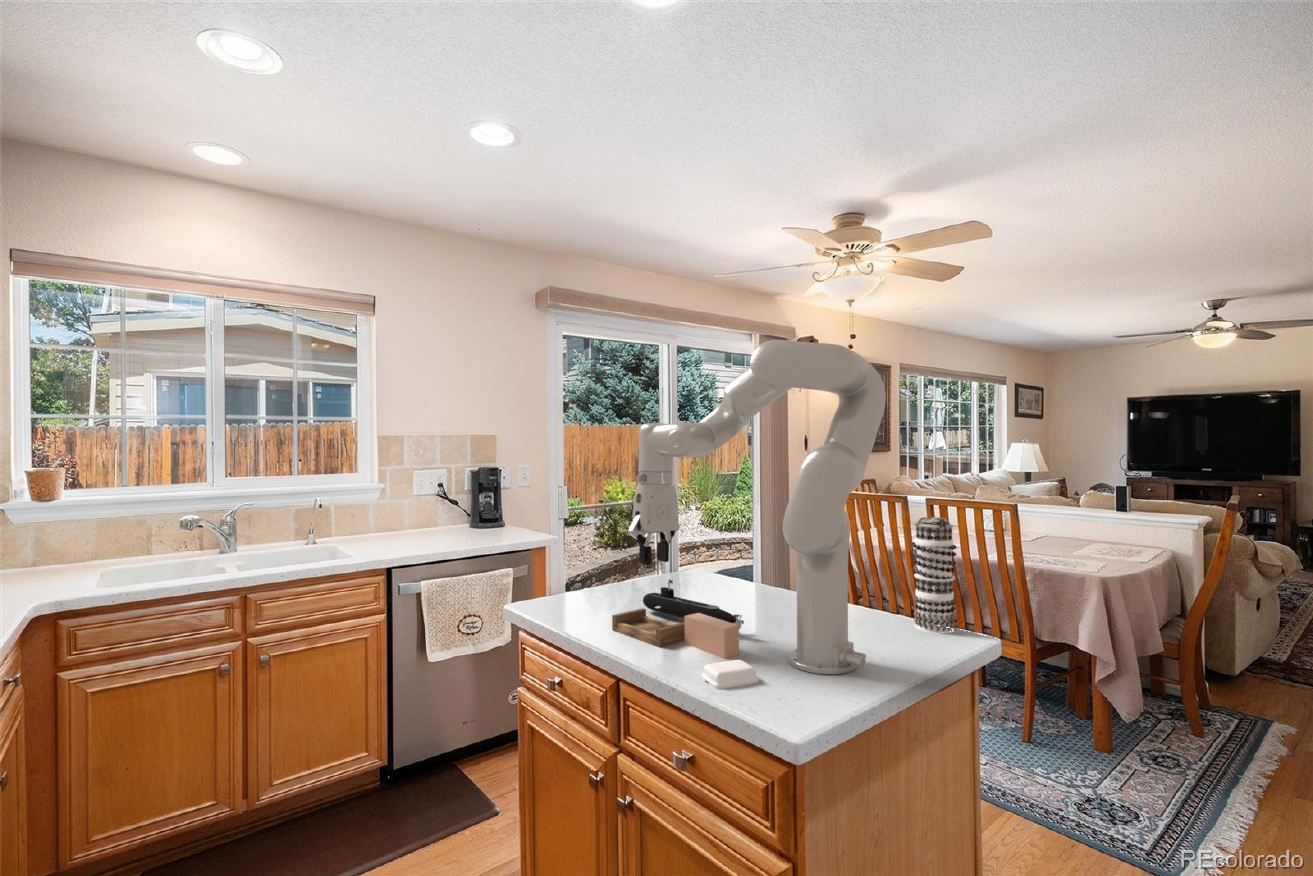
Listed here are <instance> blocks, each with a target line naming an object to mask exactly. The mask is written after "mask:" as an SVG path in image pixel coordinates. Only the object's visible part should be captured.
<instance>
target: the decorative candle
mask: <svg viewBox="0 0 1313 876" xmlns="http://www.w3.org/2000/svg"><path fill="white" fill-rule="evenodd" d="M913 525H914V526H915V537H914V541H913V542H911V545H912V547H913V548H914V549H913V551H912V552H911V554H912V555H913V556H914V557H913V558H912V561H913V563H914V567H912V569H913V570H914V573H913V577H914V578H915V579H916V582H915V583H916V588H915V596H914V597H913V599H914V601H915V602H916V603H914V604H913V606H914V608H915V610H914V612H913V615H914V616H915V618H914V620H913V621H914V623H915V625H914V628H917V629H916V630H919V631H921V632H924V633H929V632H935V633H934V634H936V633H943V632H944V633H948V634H952V629H951V628H954V629H955V626H956V625H957V624H956V622H955V620H956V619H957V616H956V615H955V613H954V612H955V611H956V608H955V606H954V605H955V604H956V600H955V599H954V598H955V597H954V596H955V595H954V592H955V591H953V590H954V589H953V588H954V587H953V586H954V584H953V581H954V580H956V577H955V576H954V575H953V573H955V572H956V570H957V569H956V568H954V565H956V564H957V563H956V561H954V559H953V558H955V557H956V556H957V553H956V551H955V550H956V549H957V545H955V544H954V539H953V527H954V525H952V524H951V522H950V521H949V520H948V519H947V518H944V517H935V516H934V517H933V516H931V517H930V516H929V517H928V516H927V517H925V516H924V517H921V518H919V519H918V521H917V522H916V523H914V524H913ZM937 625H940V626H937ZM946 627H950V628H946ZM949 631H951V632H949ZM955 632H956V630H955V631H953V633H955Z"/></svg>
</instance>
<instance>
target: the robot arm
mask: <svg viewBox="0 0 1313 876" xmlns="http://www.w3.org/2000/svg"><path fill="white" fill-rule="evenodd" d="M750 356H751V357H750V361H749V364H750V365H749V367H748V368H746V369H745V370H744V371H742V372H741V373H739V374H738V375H737V376H736V377H735V378H732V380H731V381H729V382H728V383H727V384H726V385H725V386H724V389H723V397H722V398H723V399H722V400H721V403H720V404H719V405H718V406H717V407H715V409H714V410H713V411H711V412H710V413H709V414H708V415H707V416H705V417H704V418H703V419H701V420H700V421H698V422H688V421H687V422H686V421H685V422H684V421H683V422H674V423H662V422H661V423H659V422H657V423H656V422H655V423H654V422H653V423H652V422H650V423H649V422H648V423H643V424H642V425H641V426H640V428H639V437H638V474H636V476H635V481H636V482H638V485H636V488H635V492H634V498H633V499H634V500H633V506H632V523H631V525H630V526H629V529H628V530H627V534H628V535H630V536H631V537H632V538H633V539H634V541H635V542H636V544H637V546H639V554H638V555H639V556H638V557H639V559H638V563H639V564H643V565H646V566H650V565H651V564H652V546H651V545H650V542H651V538H652V534H655V533H656V534H657V533H658V540H659V541H657V544H656V545H657V546H656V548H657V549H656V559H657V561H660V562H662V563H663V562H664V563H668V562H669V561H670V545H671V544H672V539H673V538H674V536H675V534H676V533H677V532H678V531H679V529H680V528H681V527H680V523H679V503H678V494H677V488H676V486H675V485H674V484H673V481H674V480H673V478H674V476H673V475H674V458H679V459H680V458H681V459H689V458H702V457H705V456H708V455H710V454H711V453H713V452H715V451H716V450H718V449H719V448H720V447H722V446H723V445H724V444H726V443H727V442H728V441H730V440H731V439H733V438H734V437H735V436H736V435H737V434H739V432H740V431H741V430H742V429H743V428H744V427H745V426H746V425H747V424H748V423H749V422H750V420H751V419H752V418H753V417H755V415H757V414H759V413H760V412H762V411H763V410H764V409H765V408H767V407H768V406H770V405H771V404H773V403H774V402H775V401H776V400H778V399H779V398H781V397H782V396H783V395H784V394H786V393H788V392H789V391H790V390H792V389H793V388H794V389H795V388H796V389H803V390H805V389H806V390H813V391H821V392H822V391H823V392H828V393H832V394H834V395H835V394H836V395H837V396H838V405H837V406H838V407H837V408H836V410H835V412H834V415H833V417H832V420H831V423H830V426H829V430H828V432H827V435H826V437H825V439H824V443H823V445H820V446H818V447H816V448H814V449H813V450H812V451H810V452H809V453H808V455H806V456H805V458H804V459H803V462H802V463H801V466H800V468H799V470H798V472H797V476H796V478H795V482H794V486H793V489H792V491H791V493H790V497H789V500H788V502H787V506H786V509H785V512H784V517H783V519H782V520H783V521H782V533H783V536H784V540H785V542H786V543H787V544H788V546H789V547H790V548H791V549H792V550H793V551H795V552H796V553H797V555H796V557H797V559H796V580H795V581H796V649H794V650H792V651H791V652H790V653H789V654H788V663H789V664H790V665H791V666H792V667H795V669H798V670H801V671H804V672H807V673H812V674H818V675H827V676H828V675H830V676H831V675H842V674H843V675H844V674H848V673H851V672H852V671H855V670H856V669H857V667H858V668H864V667H865V665H866V663H867V662H866V659H867V655H866V653H864V652H859V651H855V649H854V642H852V641H850V640H849V622H848V621H849V606H848V605H849V602H848V601H849V599H848V598H849V597H848V596H849V595H848V594H849V593H848V591H849V589H848V587H849V586H848V585H849V573H848V572H849V549H850V538H851V537H850V535H851V525H850V518H849V515H848V513H847V511H846V510H845V507H846V505H847V504H846V503H847V501H848V498H849V495H850V493H853V492H854V491H855V490H857V489H858V488H859V486H860V485H861V484H862V481H863V479H864V476H865V472H866V470H867V466H868V462H869V459H870V457H871V454H872V451H873V448H874V444H875V441H876V437H877V434H878V432H879V429H880V425H881V423H882V419H883V417H884V412H885V407H886V398H887V397H886V390H885V389H886V388H885V385H884V382H883V380H882V377H881V375H880V374H879V372H878V371H877V370H876V369H875V367H874V366H873V365H872V364H871V363H870V362H869V361H868V360H867V359H866V358H864V357H863V356H861V354H858V352H855V351H854V350H852V349H850V348H848V347H845V346H843V345H840V344H836V343H828V342H827V343H825V342H810V341H797V340H784V339H771V340H766V341H764V342H762V343H760V344H759V345H758V346H757V347H756V348H754V351H753V352H752V354H751V355H750Z"/></svg>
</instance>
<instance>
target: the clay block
mask: <svg viewBox="0 0 1313 876" xmlns="http://www.w3.org/2000/svg"><path fill="white" fill-rule="evenodd" d="M684 622H685V640H684V644H685V645H687V646H690V647H693V648H694V649H697V650H700V651H702V652H706V653H708V654H711V655H713V656H716V657H719V658H720V659H723V660H725V659H729V658H732V657H737V656H739V655H740V640H739V639H740V632H739V631H740V629H739V625H736V624H733V623H730V622H727V621H724V620H720V619H717V618H714V617H711V616H707V615H704V614H701V613H696V614H691V615H687V616H685V618H684Z"/></svg>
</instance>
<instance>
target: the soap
mask: <svg viewBox="0 0 1313 876" xmlns="http://www.w3.org/2000/svg"><path fill="white" fill-rule="evenodd" d="M700 675H701V677H700V678H701V679H702V680H703V681H704V682H707V683H708V685H709V686H710V687H712V688H713V689H716V690H720V689H730V688H736V687H742V686H747V685H748V686H749V685H752V684H757V683H759V677H758V676H757V671H756V669H755V668H754V667H753V666H751V665H750V664H748V663H747V662H745V661H743V660H741V659H734V660H733V659H732V660H726V661H720V662H713V663H708V664H705V665H704V667H703V672H702V673H701V674H700Z"/></svg>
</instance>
